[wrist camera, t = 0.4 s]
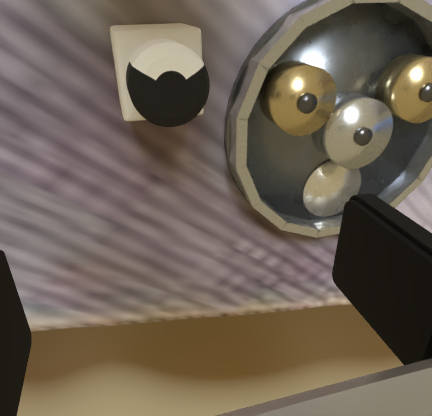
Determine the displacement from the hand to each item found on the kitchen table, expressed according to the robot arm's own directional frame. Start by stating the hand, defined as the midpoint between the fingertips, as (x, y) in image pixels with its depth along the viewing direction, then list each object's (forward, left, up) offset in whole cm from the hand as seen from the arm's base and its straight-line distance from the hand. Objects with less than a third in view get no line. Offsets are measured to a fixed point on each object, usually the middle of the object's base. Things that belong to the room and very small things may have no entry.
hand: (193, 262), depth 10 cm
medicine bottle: (-1, +3, -32) cm, 32 cm away
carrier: (+7, +25, -31) cm, 40 cm away
